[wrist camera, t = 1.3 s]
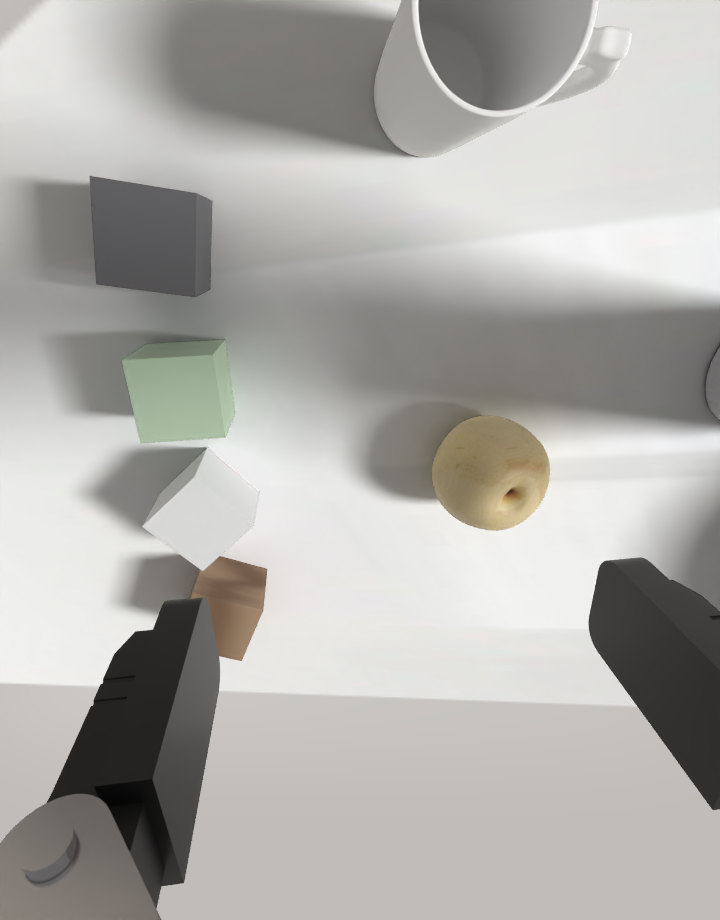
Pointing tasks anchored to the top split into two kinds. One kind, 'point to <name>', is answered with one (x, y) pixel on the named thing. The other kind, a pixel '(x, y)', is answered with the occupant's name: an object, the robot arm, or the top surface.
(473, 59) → the mug
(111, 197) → the charcoal block
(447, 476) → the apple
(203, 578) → the walnut block
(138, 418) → the sage block
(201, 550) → the grey block
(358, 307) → the top surface
